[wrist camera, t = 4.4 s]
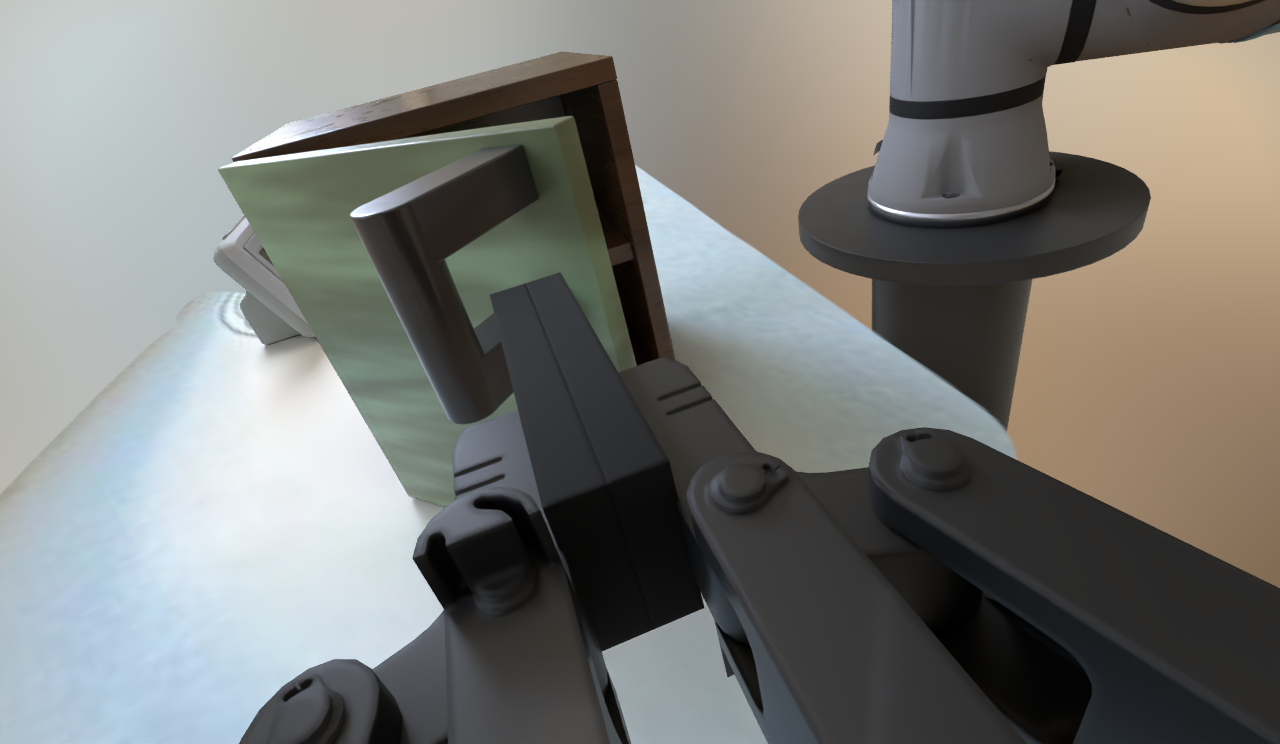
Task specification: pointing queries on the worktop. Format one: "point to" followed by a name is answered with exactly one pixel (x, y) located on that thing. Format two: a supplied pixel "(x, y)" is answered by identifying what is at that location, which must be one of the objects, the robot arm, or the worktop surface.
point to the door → (431, 270)
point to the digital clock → (260, 286)
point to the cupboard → (517, 98)
